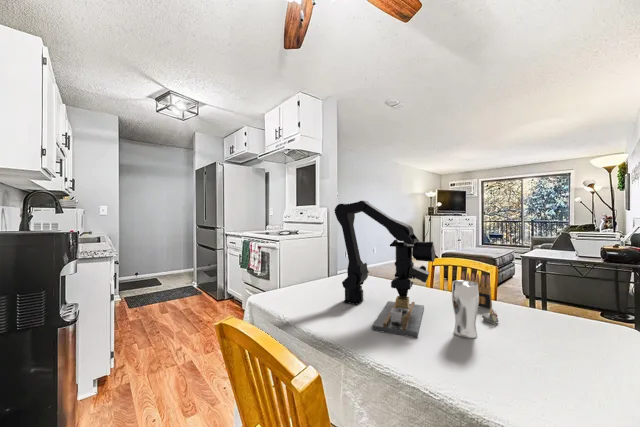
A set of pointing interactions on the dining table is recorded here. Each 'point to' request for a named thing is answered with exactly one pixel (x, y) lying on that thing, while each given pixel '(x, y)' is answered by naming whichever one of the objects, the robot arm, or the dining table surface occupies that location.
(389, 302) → the bolt plate
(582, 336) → the dining table surface
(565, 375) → the dining table surface
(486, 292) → the ammunition clip
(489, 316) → the figurine
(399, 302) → the tan wooden block
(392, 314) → the fixed leg
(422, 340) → the dining table surface
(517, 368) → the dining table surface
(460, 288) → the beer glass
